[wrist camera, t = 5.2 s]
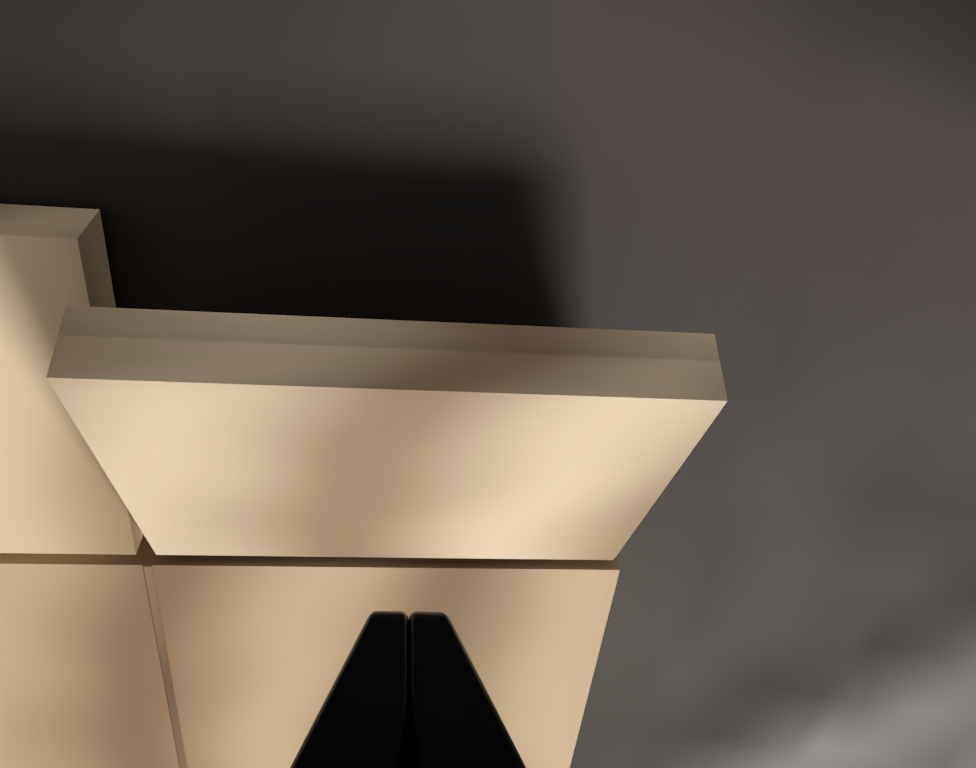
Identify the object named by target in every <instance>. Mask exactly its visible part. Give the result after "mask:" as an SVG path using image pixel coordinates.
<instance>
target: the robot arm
mask: <svg viewBox="0 0 976 768" xmlns="http://www.w3.org/2000/svg"><path fill="white" fill-rule="evenodd" d="M290 768H526V766H525V764H524V762H523V760H522V759H521V757H520V755H519V753H518V751H517V749H516V747H515V745H514V743H513V741H512V739H511V737H510V735H509V733H508V731H507V729H506V727H505V725H504V723H503V721H502V719H501V717H500V716H499V714H498V712H497V710H496V708H495V706H494V704H493V702H492V700H491V698H490V696H489V694H488V692H487V690H486V688H485V686H484V684H483V682H482V680H481V678H480V676H479V675H478V673H477V671H476V669H475V667H474V665H473V663H472V661H471V659H470V657H469V655H468V653H467V651H466V649H465V647H464V645H463V643H462V641H461V639H460V637H459V635H458V633H457V632H456V630H455V628H454V626H453V624H452V622H451V620H450V618H449V617H448V615H447V614H446V613H444V612H434V611H415V612H413V613H411V614H410V616H409V620H408V615H407V614H406V613H405V612H403V611H374V612H372V613H371V614H370V615H369V617H368V618H367V620H366V622H365V624H364V626H363V628H362V630H361V632H360V633H359V635H358V637H357V639H356V641H355V643H354V645H353V647H352V649H351V651H350V653H349V655H348V657H347V659H346V661H345V662H344V664H343V666H342V668H341V670H340V672H339V674H338V676H337V678H336V680H335V682H334V684H333V686H332V688H331V690H330V691H329V693H328V695H327V697H326V699H325V701H324V703H323V705H322V707H321V709H320V711H319V713H318V715H317V717H316V719H315V720H314V722H313V724H312V726H311V728H310V730H309V732H308V734H307V736H306V738H305V740H304V742H303V744H302V746H301V747H300V749H299V751H298V753H297V755H296V757H295V759H294V761H293V763H292V765H291V767H290Z"/></svg>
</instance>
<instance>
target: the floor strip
mask: <svg viewBox="0 0 976 768" xmlns="http://www.w3.org/2000/svg"><path fill="white" fill-rule="evenodd" d="M619 571H620V569H619V565H618V562H617V558H616V557H615V559H614V560H554V559H467V558H381V557H294V556H207V555H156V554H155V552H154V551H153V549H152V547H151V546H150V544H149V542H148V541H147V539H146V538H145V536H144V534H143V537H142V539H141V542H140V545H139V548H138V550H137V553H136V555H121V554H34V553H0V768H290V767H291V765H292V763H293V761H294V759H295V757H296V755H297V753H298V751H299V749H300V747H301V746H302V744H303V742H304V740H305V738H306V736H307V734H308V732H309V730H310V728H311V726H312V724H313V722H314V720H315V719H316V717H317V715H318V713H319V711H320V709H321V707H322V705H323V703H324V701H325V699H326V697H327V695H328V693H329V691H330V690H331V688H332V686H333V684H334V682H335V680H336V678H337V676H338V674H339V672H340V670H341V668H342V666H343V664H344V662H345V661H346V659H347V657H348V655H349V653H350V651H351V649H352V647H353V645H354V643H355V641H356V639H357V637H358V635H359V633H360V632H361V630H362V628H363V626H364V624H365V622H366V620H367V618H368V617H369V615H370V614H371V613H372V612H374V611H403V612H405V613H406V614H407V615H408V620H409V616H410V614H411V613H413V612H415V611H434V612H444V613H446V614H447V615H448V617H449V618H450V620H451V622H452V624H453V626H454V628H455V630H456V632H457V633H458V635H459V637H460V639H461V641H462V643H463V645H464V647H465V649H466V651H467V653H468V655H469V657H470V659H471V661H472V663H473V665H474V667H475V669H476V671H477V673H478V675H479V676H480V678H481V680H482V682H483V684H484V686H485V688H486V690H487V692H488V694H489V696H490V698H491V700H492V702H493V704H494V706H495V708H496V710H497V712H498V714H499V716H500V717H501V719H502V721H503V723H504V725H505V727H506V729H507V731H508V733H509V735H510V737H511V739H512V741H513V743H514V745H515V747H516V749H517V751H518V753H519V755H520V757H521V759H522V760H523V762H524V764H525V766H526V768H570V764H571V760H572V756H573V752H574V748H575V744H576V740H577V737H578V733H579V729H580V725H581V721H582V717H583V713H584V709H585V705H586V701H587V697H588V693H589V689H590V685H591V681H592V677H593V674H594V670H595V666H596V662H597V658H598V654H599V650H600V646H601V642H602V638H603V634H604V630H605V626H606V622H607V618H608V614H609V610H610V607H611V603H612V599H613V595H614V591H615V587H616V583H617V579H618V575H619Z"/></svg>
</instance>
